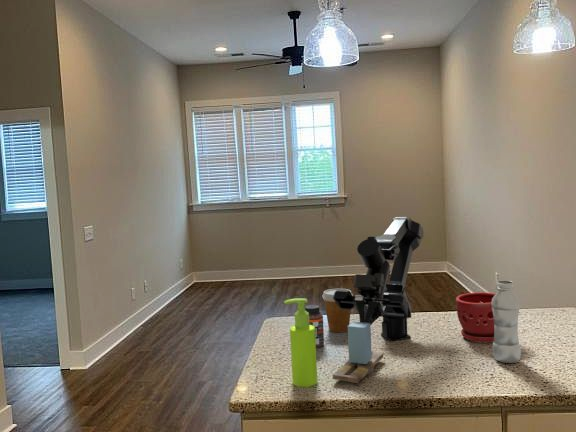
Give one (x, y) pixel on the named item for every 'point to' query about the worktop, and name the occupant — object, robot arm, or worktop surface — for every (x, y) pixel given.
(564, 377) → the worktop surface
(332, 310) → the disposable coffee cup
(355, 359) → the rider
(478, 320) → the plant pot
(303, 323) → the soap dispenser
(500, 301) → the plastic bottle
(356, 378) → the slotted wooden board
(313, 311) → the supplement bottle
